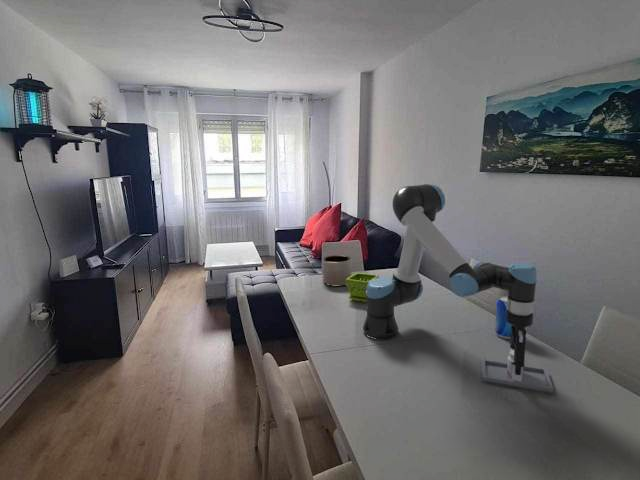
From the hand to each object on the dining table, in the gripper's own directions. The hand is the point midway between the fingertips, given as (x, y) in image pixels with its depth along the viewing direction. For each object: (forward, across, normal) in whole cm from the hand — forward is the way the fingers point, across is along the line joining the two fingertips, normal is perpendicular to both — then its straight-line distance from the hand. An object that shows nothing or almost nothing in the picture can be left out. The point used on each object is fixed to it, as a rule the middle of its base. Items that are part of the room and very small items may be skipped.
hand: (514, 374), depth 120 cm
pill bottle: (+1, 0, 0) cm, 1 cm away
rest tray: (+1, 0, 0) cm, 1 cm away
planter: (+1, +78, +91) cm, 119 cm away
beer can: (+1, +32, 0) cm, 32 cm away
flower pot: (+1, +55, +68) cm, 87 cm away
